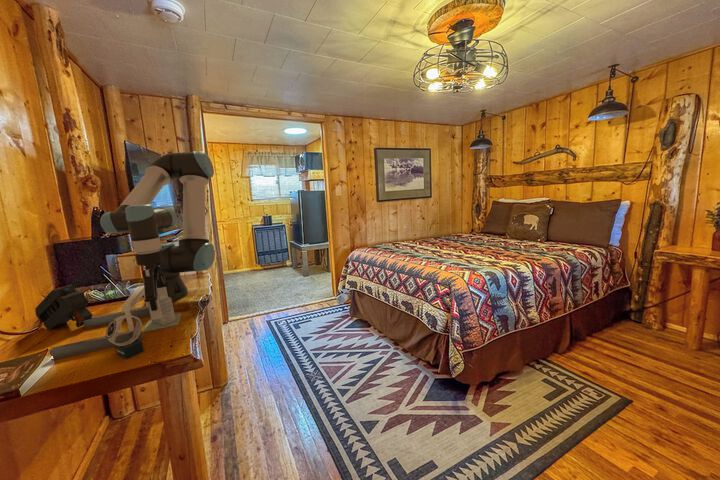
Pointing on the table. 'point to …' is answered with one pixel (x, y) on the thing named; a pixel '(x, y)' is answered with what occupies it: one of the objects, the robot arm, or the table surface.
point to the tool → (63, 307)
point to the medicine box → (165, 310)
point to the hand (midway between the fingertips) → (161, 311)
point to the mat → (155, 326)
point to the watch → (127, 346)
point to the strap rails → (100, 341)
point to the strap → (133, 304)
